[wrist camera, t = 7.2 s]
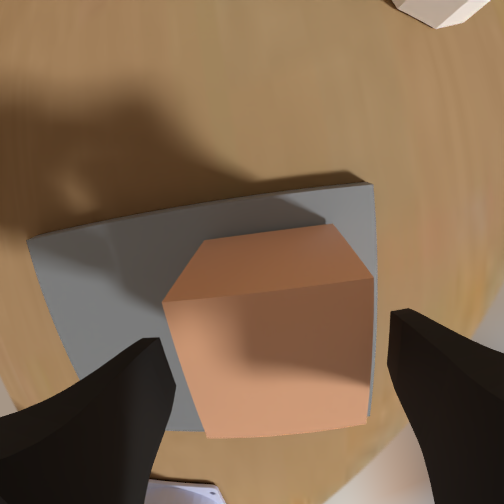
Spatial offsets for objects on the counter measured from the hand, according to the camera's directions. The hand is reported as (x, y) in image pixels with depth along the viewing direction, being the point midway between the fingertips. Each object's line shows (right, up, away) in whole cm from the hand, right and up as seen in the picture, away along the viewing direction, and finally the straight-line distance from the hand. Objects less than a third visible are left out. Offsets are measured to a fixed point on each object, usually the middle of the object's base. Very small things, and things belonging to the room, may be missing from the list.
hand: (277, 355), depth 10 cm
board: (-3, -1, +7) cm, 7 cm away
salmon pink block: (0, +2, +4) cm, 4 cm away
